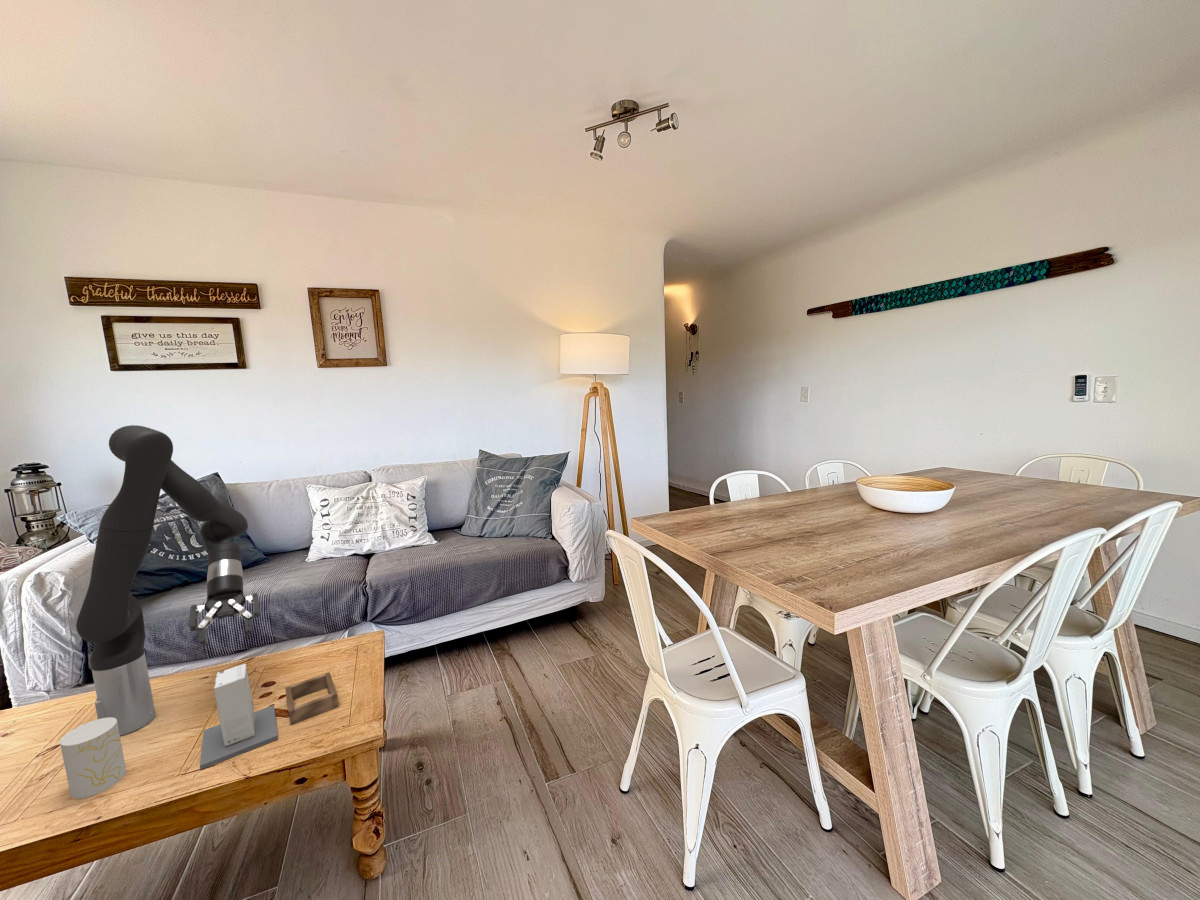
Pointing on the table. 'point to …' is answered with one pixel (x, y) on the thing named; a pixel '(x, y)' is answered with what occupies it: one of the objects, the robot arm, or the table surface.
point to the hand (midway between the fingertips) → (226, 639)
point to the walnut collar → (314, 705)
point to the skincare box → (235, 704)
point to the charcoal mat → (218, 752)
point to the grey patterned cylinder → (93, 757)
